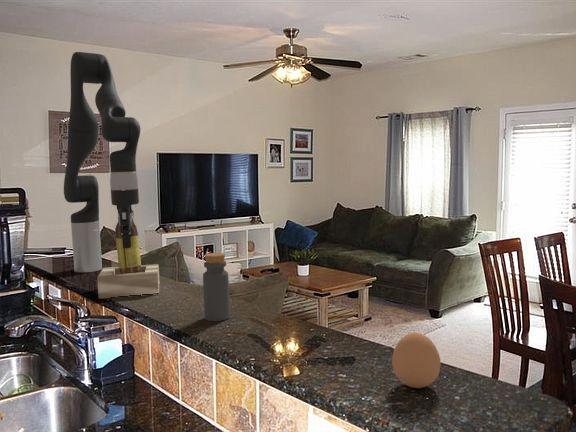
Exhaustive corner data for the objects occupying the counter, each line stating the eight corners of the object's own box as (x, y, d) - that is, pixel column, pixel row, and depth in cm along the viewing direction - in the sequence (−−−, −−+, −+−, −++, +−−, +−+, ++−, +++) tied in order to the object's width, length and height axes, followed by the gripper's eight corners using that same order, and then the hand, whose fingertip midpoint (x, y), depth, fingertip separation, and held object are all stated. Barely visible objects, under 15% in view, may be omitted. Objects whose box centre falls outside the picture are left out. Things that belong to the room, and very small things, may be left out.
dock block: (104, 287, 161) (103, 267, 161) (159, 283, 164) (158, 264, 164) (98, 298, 147) (97, 277, 147) (158, 294, 151) (157, 272, 150)
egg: (436, 399, 80) (436, 343, 79) (387, 392, 83) (386, 338, 82) (443, 380, 86) (443, 328, 85) (397, 374, 89) (397, 324, 88)
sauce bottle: (144, 269, 158) (140, 202, 156) (136, 274, 152) (132, 204, 150) (123, 270, 159) (118, 203, 157) (114, 274, 153) (109, 204, 151)
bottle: (234, 315, 127) (231, 252, 126) (223, 322, 122) (220, 257, 120) (212, 313, 129) (209, 252, 128) (200, 320, 124) (197, 256, 122)
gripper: (113, 187, 159) (116, 243, 161) (107, 189, 145) (111, 250, 147) (139, 186, 161) (142, 242, 163) (136, 188, 147) (140, 249, 149)
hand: (128, 246), depth 155 cm, fingers closed on sauce bottle, 6 cm apart
